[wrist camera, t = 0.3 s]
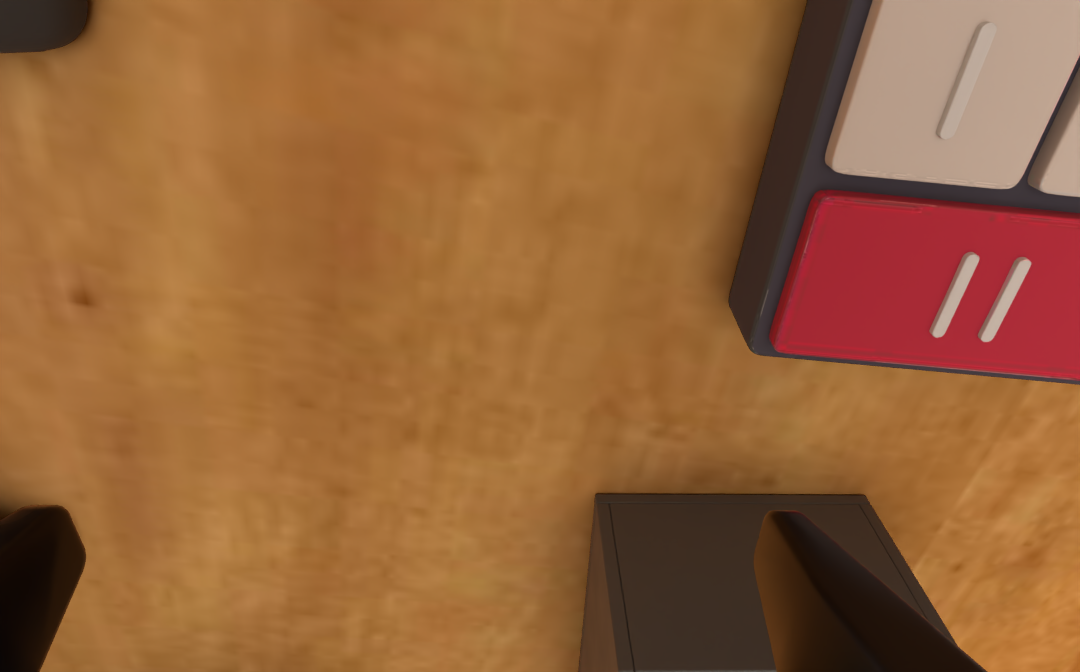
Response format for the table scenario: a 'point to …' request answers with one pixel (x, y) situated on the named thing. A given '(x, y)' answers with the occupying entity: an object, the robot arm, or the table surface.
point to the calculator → (923, 192)
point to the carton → (708, 578)
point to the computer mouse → (40, 24)
